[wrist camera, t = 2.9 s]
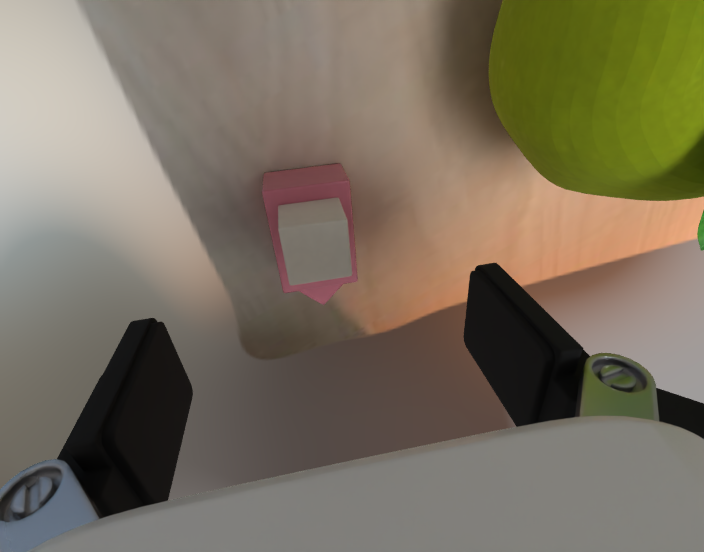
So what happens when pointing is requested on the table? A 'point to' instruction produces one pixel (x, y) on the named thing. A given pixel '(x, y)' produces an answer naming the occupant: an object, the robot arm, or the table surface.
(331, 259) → the pink and grey toy
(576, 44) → the fruit
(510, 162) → the table surface
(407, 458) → the robot arm
